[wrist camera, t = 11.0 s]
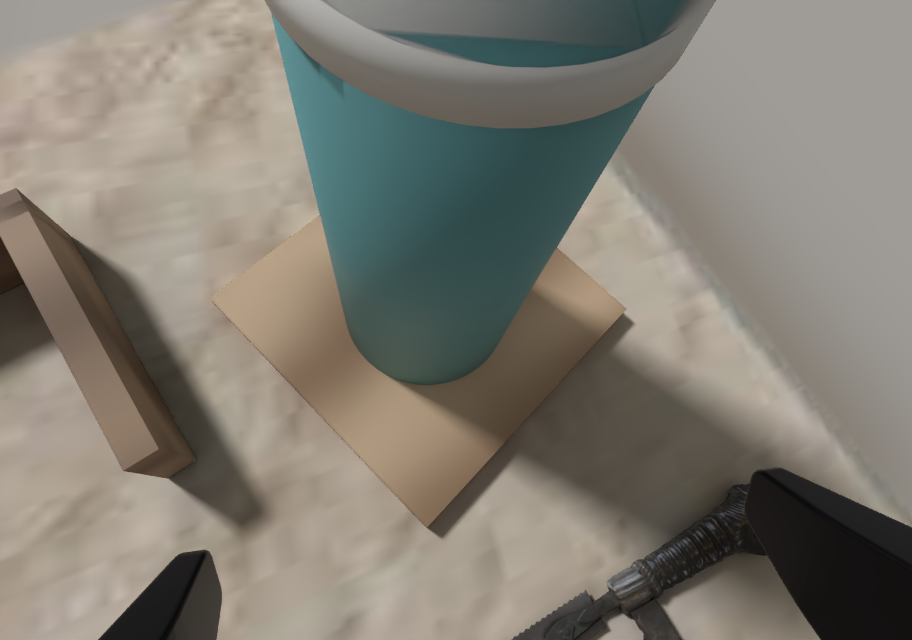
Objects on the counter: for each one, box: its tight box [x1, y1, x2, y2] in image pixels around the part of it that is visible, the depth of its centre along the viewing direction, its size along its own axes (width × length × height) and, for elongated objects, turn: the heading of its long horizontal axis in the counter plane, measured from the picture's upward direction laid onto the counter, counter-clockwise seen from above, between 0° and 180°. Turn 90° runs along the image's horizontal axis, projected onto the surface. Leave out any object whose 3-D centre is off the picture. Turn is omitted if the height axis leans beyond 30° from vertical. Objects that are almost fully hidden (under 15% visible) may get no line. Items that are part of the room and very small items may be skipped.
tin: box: [265, 0, 716, 385], centre depth 13 cm, size 6×6×14 cm
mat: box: [210, 215, 626, 528], centre depth 20 cm, size 11×11×1 cm
